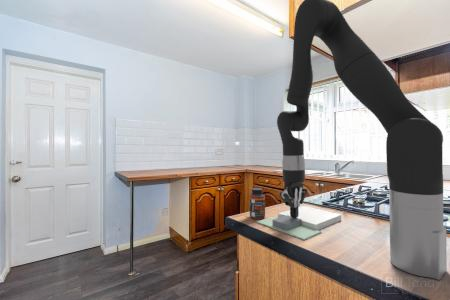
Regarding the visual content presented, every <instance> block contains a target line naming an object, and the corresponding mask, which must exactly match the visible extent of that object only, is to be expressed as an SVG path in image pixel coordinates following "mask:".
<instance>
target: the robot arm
mask: <svg viewBox="0 0 450 300" xmlns="http://www.w3.org/2000/svg"><path fill="white" fill-rule="evenodd" d="M293 29H294V30H293V46H292V47H293V49H292V65H291V75H290V81H289V86H288V89H287V95H286V102H287V104H289V105H292V106H295V107H296V110H292V111H291V110H284V111H281V112H280V113H279V114H278V115H277V118H276V124H277V125H276V126H277V130H278V132H279V136H280V140H281V143H282V144H281V145H282V161H281V162H282V163H281V164H282V168H281V169H282V181H283V182H284V187H283V189H284V190H283V192H279V196H280V198H281V200H282V201H283V203H284V204H285V206H287V207H289V210H290V216H291V217H293V218H297V217H298V214H299V210H298V207H301V206H300V205H303V203H304V201H305V198H306V196H307V194H308V189H307V188H305V187H304V184H303V183H304V182H305V181H306V169H305V167H306V165H305V164H306V163H305V155H304V153H305V151H304V149H305V147H304V140H303V139H302V138H300V137H295V136H294V135H293V132H303V131H305V130H306V128H307V127H308V126H309V121H310V117H309V116H310V115H309V114H310V113H309V99H310V95H311V91H312V87H313V82H314V71H313V65H312V46H313V45H312V44H313V41H314V38H315V37H316V38H319V39H320V40H321V41H322V43H324V45H325V46H326V47H327V48H328V49H329V51H330V52H331V55H332V59H333V65H334V70H335V72H336V75H337V76H338V78H339V80H341V82H342V83H343V85H344V86H345V88H347V90H348V91H349V92H350V94H352V95H353V97H355V98H356V99H357V100H358V102H360V103H361V104H362V106H364V107H365V108H366V109H368V110H369V111H370V112H371V113H372V114H373V115H374V116H375V118H377V121H379V122H380V125H381V126H382V127H383V129H384V131H385V132H386V133H387V135H386V143H385V144H386V145H385V149H386V151H385V153H386V174H387V179H388V187H389V190H388V191H389V193H388V194H389V198H388V199H389V202H388V203H389V255H390V256H389V257H390V260H389V261H390V263H391V264H392V265H393V266H395V267H396V268H397V269H399V270H401V271H403V272H406V273H407V274H411V275H414V276H415V275H416V276H418V277H419V276H420V277H423V278H431V279H435V280H438V281H440V280H441V279H442V277H443V276H444V275H445V273H446V272H447V266H448V265H447V263H448V262H447V228H446V226H444V173H443V143H444V137H443V132H442V130H441V129H440V128H439V127H438V125H436V124H435V123H433V122H432V121H431V120H429V119H428V118H427V117H426V116H425V115H424V114H423V113H421V111H420V110H418V108H416V106H414V105H413V104H412V103H411V102H410V100H409V99H408V98H407V96H406V95H405V94H404V92H403V91H402V88H401V87H400V85H399V84H398V83H397V82H398V81H396V80H395V78H394V76H393V75H392V74H391V72H390V71H389V69H388V68H387V67H386V65H385V64H384V63H383V62H382V60H381V59H380V58H379V56H377V55H376V53H375V52H374V51H373V50H372V49H371V48H370V47H369V45H367V44H366V42H365V41H364V40H363V39H362V38H361V37H360V36H359V35H358V34H357V33H356V32H355V31H354V30H353V29H352V27H351V26H350V25H349V23H348V22H347V20H346V18H345V17H344V15H343V14H342V12H341V11H340V9H339V6H337V5H336V4H335V3H334V2H333V1H330V0H303V1H302V2H301V3H300V5H299V7H298V8H297V10H296V14H295V18H294V28H293Z"/></svg>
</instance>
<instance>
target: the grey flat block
mask: <svg viewBox="0 0 450 300" xmlns="http://www.w3.org/2000/svg"><path fill="white" fill-rule="evenodd" d="M301 225H302V219H299V218H293V217H291V216H288V215H287V216H284V217H280V218H278V217H277V219H274V220H273V226H275V227H278V228H280V229H283V230H286V231H287V230H290V229H293V228H295V227H298V226H301Z"/></svg>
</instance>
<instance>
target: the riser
mask: <svg viewBox="0 0 450 300" xmlns="http://www.w3.org/2000/svg"><path fill="white" fill-rule="evenodd" d="M298 210H299V214H298V217H297V218H299V219H302V226H305V227H309V228H312V229H315V230H318V231H320V230H321V229H323V228H326V227H328V226H331V225H333V224H336V223H338V222H340V221H342V214H340V213H335V212H330V211H327V210H323V209H319V208H313V207H310V206H305V205H302V206H299V207H298ZM287 215H288V216H290V209H288V210H285V211H280V212H278V213H277V218H280V217H284V216H287Z"/></svg>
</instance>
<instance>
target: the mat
mask: <svg viewBox="0 0 450 300" xmlns="http://www.w3.org/2000/svg"><path fill="white" fill-rule="evenodd" d="M277 218H278V216H271V217H268V218H263V219H259V220H257V221H256V223H257V224H260V225H262V226H265V227H267V228H270V229H272V230H273V229H274V230H276V231H278V232H281V233H283V234H286V235H289V236H291V237H294V238H297V239H299V240H302V241H306V240H308V239H310V238H312V237H315V236H318V235H319V234H321V233H322V230H321V231H320V230H315V229H312V228H309V227H305V226H302V225H301V226H298V227H295V228H293V229H290V230H287V231H286V230H283V229H280V228H278V227H275V226H273V220H274V219H277Z"/></svg>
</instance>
